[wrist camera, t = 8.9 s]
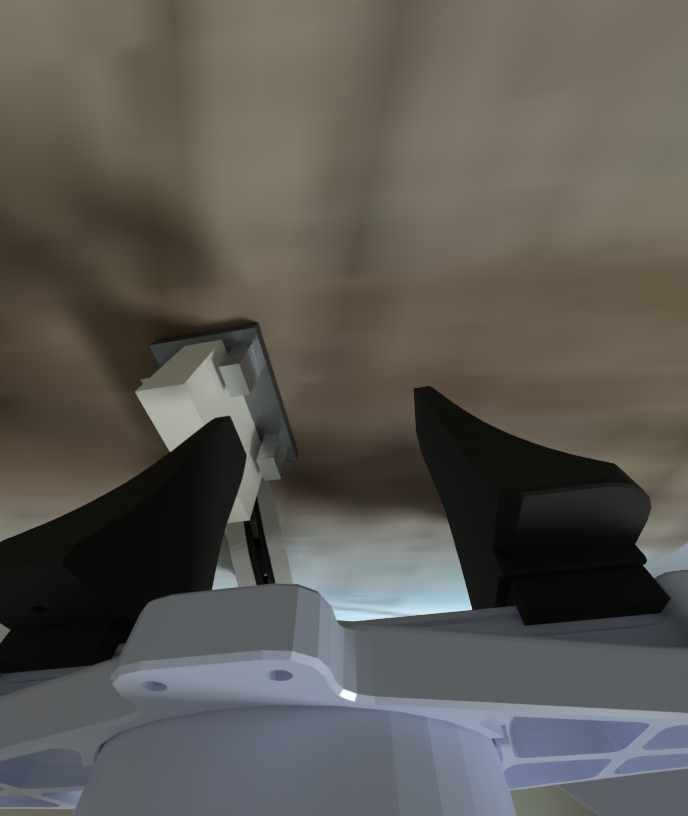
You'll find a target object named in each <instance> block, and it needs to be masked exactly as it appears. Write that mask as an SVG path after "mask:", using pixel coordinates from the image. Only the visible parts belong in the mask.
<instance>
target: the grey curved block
mask: <svg viewBox="0 0 688 816" xmlns="http://www.w3.org/2000/svg"><path fill="white" fill-rule="evenodd" d="M225 534H226V537H227V540H228V543H229V549H230V555H231V561H232V564H233V568H234V572H235V576H236V579H237V583H238V587H246V586H255V585H264V584H274V583H278V584H293V582H292V578H291V573H290V568H289V563H288V559H287V554H286V549H285V545H284V540H283V536H282V532H281V527H280V523H279V519H278V515H277V511H276V507H275V503H274V499H273V495H272V491H271V486H270V482H269V481H265V480H264V478H263V475H262V478H261V482H260V485H259V489H258V492H257V496H256V500H255V503H254V507H253V510H252V514H251V517H250V520H249V521H241V522H232V523H227V525H226V528H225ZM255 538H259V540H260V545H261V548H257V547H255V542H254V539H255ZM266 573H267V576H264V574H266Z"/></svg>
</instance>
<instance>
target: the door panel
mask: <svg viewBox="0 0 688 816" xmlns="http://www.w3.org/2000/svg"><path fill="white" fill-rule="evenodd" d="M227 355H228V354H227V351H226V348H225V346H224V343H223V340H217V341H211V342H205V343H199V344H193V345H187V346H184V347H183V348H182V349H181V350H180V351H179V352H177V353H176V354H175V355H174V356H173V357H172V358H171V359H170V360H169V361H168V362H167V363H165V364H164V365H163V366H162V367H161V368H160V369H159V370H158V371H157V372H156V373H155V374H153V375H152V376H151V377H150V378H149V379H148V380H147V381H146V382H145V383H144V384H143V385H141V386H140V387H139V388H138V389H137V390H136V391H135V393H136V395H137V396H138V398H139V400H140V402H141V403H142V405H143V407H144V408H145V410H146V412H147V414H148V415H149V417H150V419H151V420H152V422H153V424H154V426H155V427H156V429H157V431H158V432H159V434H160V436H161V438H162V439H163V441H164V443H165V445H166V446H167V448H168V450H169V451H170V452H171V451H172V450H174V449H175V448H176V447H177V446H179V445H180V444H181V443H182V442H184V441H185V440H186V439H187V438H189V437H190V436H191V435H193V434H194V433H195V432H196V431H198V430H199V429H200V428H201V427H203V426H204V425H205V424H207V423H208V422H209V421H211V420H212V419H214V418H216V417H223V416H231V419H232V421H233V423H234V426H235V428H236V431H237V433H238V435H239V438H240V440H241V442H242V445H243V447H244V450H245V452H246V454H247V457H246V463H245V469H244V474H243V478H242V482H241V485H240V488H239V491H238V493H237V496H236V499H235V502H234V505H233V508H232V511H231V514H230V516H229V519H228V522H227V523H232V522H241V521H249V520H250V517H251V514H252V510H253V507H254V503H255V500H256V496H257V492H258V489H259V485H260V482H261V478H262V473H261V471H260V468H259V466H258V463H257V461H256V459H257V456H258V453H259V450H260V447H261V444H262V443H261V441H260V438H259V435H258V433H257V430H256V428H255V425H254V422H253V420H252V417H251V414H250V412H249V409H248V406H247V404H246V401H245V399H244V396H243V395H242V396H235V397H231V396H230V394H229V391H228V389H227V386H226V384H225V381H224V379H223V376H222V374H221V372H220V369H219V366H220V364H221V363H222V362H223V360H224V359H225V358H226V356H227Z"/></svg>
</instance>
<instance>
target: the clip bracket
mask: <svg viewBox="0 0 688 816" xmlns="http://www.w3.org/2000/svg"><path fill="white" fill-rule="evenodd" d="M217 340H223V343H224V346H225V348H226V351H227V354H228V355H227V356H226V358H225V359H224V360H223V362H222V363H221V364H220V366H219V369H220V372H221V374H222V376H223V379H224V381H225V384H226V386H227V389H228V391H229V394H230V396H231V397H235V396H242V395H243V396H244V399H245V401H246V404H247V406H248V409H249V412H250V414H251V417H252V420H253V422H254V425H255V428H256V430H257V433H258V435H259V438H260V441H261V443H262V444H261V447H260V450H259V453H258V456H257V459H256V461H257V463H258V466H259V468H260V471H261V473H262V475H263V478H264V480H265V481H269V480H276V479H281V477H282V472H283V468H284V463H285V462H287V461H294V460H297V455H298V450H297V447H296V444H295V441H294V437H293V434H292V431H291V428H290V424H289V421H288V418H287V415H286V411H285V408H284V405H283V402H282V398H281V395H280V392H279V389H278V386H277V382H276V379H275V376H274V373H273V369H272V366H271V363H270V360H269V356H268V353H267V350H266V347H265V343H264V340H263V337H262V334H261V330H260V327H259V324H258V323H254V324H248V325H242V326H236V327H230V328H224V329H219V330H213V331H207V332H201V333H195V334H189V335H183V336H177V337H171V338H165V339H159V340H156V341H154V342H153V343H152V344H150V345H149V347H150V349H151V351H152V353H153V355H154V356H155V358H156V360H157V362H158V364H157V365H156V366H155V367H154V368H153V369H152V370H150V371H149V372H148V373H147V374H146V375H145V376H144V377H143V378H141V379H140V380H141V382H142V383H143V384H144V383H145V382H146V381H147V380H148V379H149V378H150V377H151V376H152V375H153V374H155V373H156V372H157V371H158V370H159V369H160V368H161V367H162V366H163V365H164V364H165V363H167V362H168V361H169V360H170V359H171V358H172V357H173V356H174V355H175V354H176V353H177V352H179V351H180V350H181V349H182V348H183V347H184V346H187V345H193V344H199V343H205V342H211V341H217Z"/></svg>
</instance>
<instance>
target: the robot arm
mask: <svg viewBox="0 0 688 816" xmlns="http://www.w3.org/2000/svg"><path fill="white" fill-rule="evenodd" d="M414 401H415V420H416V433H417V437H418V441H419V445H420V448H421V452H422V455H423V457H424V460H425V462H426V465H427V467H428V470H429V472H430V474H431V477H432V479H433V482H434V484H435V486H436V489H437V491H438V494H439V496H440V498H441V501H442V504H443V506H444V509H445V512H446V515H447V519H448V522H449V526H450V529H451V532H452V536H453V539H454V543H455V546H456V550H457V553H458V557H459V561H460V564H461V568H462V572H463V575H464V579H465V583H466V587H467V590H468V594H469V598H470V602H471V606H472V610H468V611H458V612H448V613H437V614H427V615H416V616H406V617H396V618H385V619H375V620H365V621H354V622H353V621H340V620H336V618H335V615H334V612H333V609H332V607H331V605H330V604H329V603H328V602H327V601H326V600H325V599H324V598H323V597H322V596H321V594H319V593H318V592H317V591H315V590H312V589H309V588H307V587H304V586H301V585H299V584H278V583H274V584H264V585H255V586H246V587H236V588H227V589H218V590H212V586H213V581H214V576H215V571H216V566H217V561H218V556H219V552H220V547H221V543H222V539H223V535H224V532H225V528H226V525H227V522H228V519H229V516H230V514H231V511H232V508H233V505H234V502H235V499H236V496H237V493H238V491H239V488H240V485H241V482H242V478H243V474H244V469H245V463H246V457H247V454H246V452H245V450H244V447H243V445H242V442H241V440H240V438H239V435H238V433H237V431H236V428H235V426H234V423H233V421H232V419H231V416H223V417H216V418H214V419H212V420H211V421H209V422H208V423H207V424H205V425H204V426H203V427H201V428H200V429H199V430H198V431H196V432H195V433H194V434H193V435H191V436H190V437H189V438H187V439H186V440H185V441H184V442H182V443H181V444H180V445H179V446H177V447H176V448H175V449H174V450H172V451H171V452H170V453H168V454H167V455H166V456H164V457H163V458H161V459H160V460H159V461H157V462H156V463H155V464H153V465H152V466H151V467H149V468H148V469H146V470H145V471H143V472H142V473H140V474H139V475H137V476H135V477H134V478H132V479H131V480H129V481H128V482H126V483H124V484H123V485H121V486H119V487H117V488H115V489H114V490H112V491H110V492H108V493H106V494H105V495H103V496H101V497H99V498H97V499H96V500H94V501H92V502H90V503H88V504H86V505H84V506H82V507H80V508H78V509H76V510H74V511H72V512H69V513H67V514H65V515H63V516H61V517H59V518H56V519H54V520H52V521H50V522H47V523H45V524H43V525H40V526H38V527H35V528H33V529H30V530H28V531H25V532H23V533H21V534H18V535H16V536H13V537H11V538H8V539H5V540H3V541H1V542H0V623H1V624H2V625H4V626H5V627H7V628H8V629H11V630H10V632H9V633H8V634H7V635H6V637H5V638H4V639H3V641H2V642H1V643H0V808H1V809H11V808H12V809H13V808H14V809H24V808H25V809H75V810H74V813H73V814H72V816H516V812H515V809H514V806H513V802H512V799H511V795H510V792H509V791H510V790H517V789H525V788H533V787H541V786H548V785H557V786H558V787H560V788H561V789H562V790H563V791H564V792H566V793H567V794H569V795H570V796H571V797H573V798H574V799H576V800H577V801H579V802H580V803H581V804H583V805H584V806H586V807H587V808H588V809H590V810H591V811H593V812H594V813H596V814H597V815H598V816H688V570H680V571H672V572H667V573H664V574H662V575H659V576H657V577H656V578H655V579H654V578H653V577H652V576H651V574H650V573H649V572H648V571H647V570H646V568H645V567H644V566H643V565H644V564H646V562H647V559H646V557H645V555H644V554H643V553H642V552H641V551H640V550H639V549H638V547H637V546H636V545H635V543H636V541H637V539H638V538H639V536H640V534H641V532H642V530H643V528H644V526H645V524H646V522H647V520H648V517H649V513H650V510H651V502H650V498H649V496H648V495H647V494H646V493H645V491H644V490H643V489H642V488H641V487H640V486H639V485H637V484H636V483H635V482H634V481H633V480H632V479H631V478H630V477H629V476H628V475H627V474H626V473H625V472H623V471H622V470H621V469H620V468H619V467H618V466H617V465H615V464H613V463H609V462H604V461H599V460H595V459H590V458H585V457H581V456H576V455H572V454H568V453H565V452H561V451H557V450H554V449H550V448H547V447H544V446H541V445H538V444H535V443H532V442H529V441H526V440H524V439H521V438H518V437H516V436H513V435H511V434H508V433H506V432H504V431H502V430H500V429H498V428H495V427H493V426H491V425H489V424H487V423H485V422H483V421H482V420H480V419H478V418H476V417H475V416H473V415H471V414H470V413H468V412H466V411H465V410H463V409H462V408H460V407H459V406H457V405H456V404H454V403H453V402H451V401H450V400H449V399H447V398H446V397H444V396H443V395H442V394H440V393H439V392H438V391H436V390H435V389H434V388H432V387H431V386H427V387H420V388H414Z"/></svg>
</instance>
